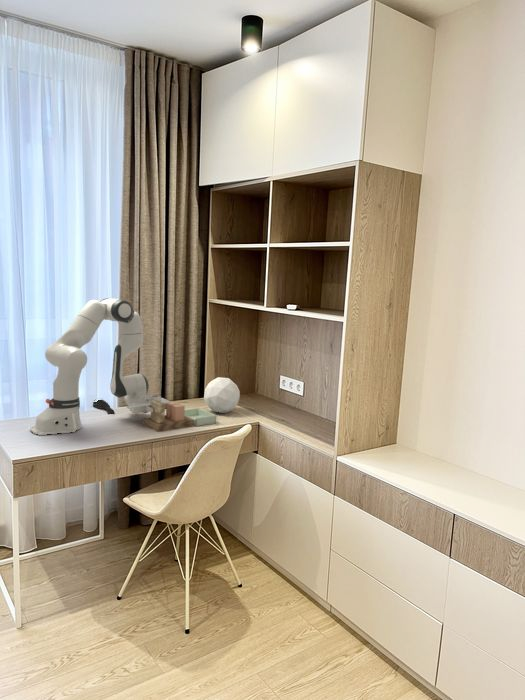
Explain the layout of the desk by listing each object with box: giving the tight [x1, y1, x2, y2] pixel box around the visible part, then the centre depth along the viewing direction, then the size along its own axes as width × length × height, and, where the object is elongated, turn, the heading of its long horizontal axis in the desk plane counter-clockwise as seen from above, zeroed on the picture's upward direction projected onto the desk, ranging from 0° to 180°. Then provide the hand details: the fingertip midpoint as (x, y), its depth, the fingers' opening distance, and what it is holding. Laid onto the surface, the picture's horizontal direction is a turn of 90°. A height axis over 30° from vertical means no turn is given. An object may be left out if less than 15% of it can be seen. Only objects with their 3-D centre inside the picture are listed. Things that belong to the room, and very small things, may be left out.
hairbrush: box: [92, 399, 116, 415], centre depth 287 cm, size 8×4×25 cm
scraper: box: [150, 400, 166, 423], centre depth 258 cm, size 3×8×9 cm, turn 39°
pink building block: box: [171, 403, 186, 421], centre depth 263 cm, size 5×4×7 cm
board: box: [142, 414, 195, 432], centre depth 263 cm, size 20×14×3 cm
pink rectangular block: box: [165, 401, 180, 419], centre depth 266 cm, size 5×4×7 cm
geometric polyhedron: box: [203, 376, 241, 414], centre depth 291 cm, size 19×20×20 cm
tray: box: [184, 407, 217, 427], centre depth 273 cm, size 12×17×4 cm
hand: (157, 409), depth 258 cm, fingers closed on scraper, 3 cm apart
